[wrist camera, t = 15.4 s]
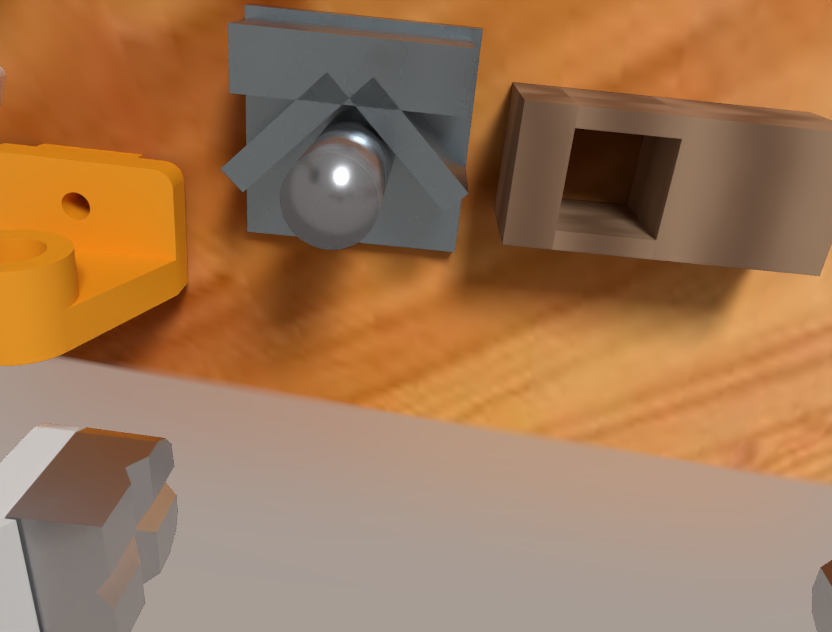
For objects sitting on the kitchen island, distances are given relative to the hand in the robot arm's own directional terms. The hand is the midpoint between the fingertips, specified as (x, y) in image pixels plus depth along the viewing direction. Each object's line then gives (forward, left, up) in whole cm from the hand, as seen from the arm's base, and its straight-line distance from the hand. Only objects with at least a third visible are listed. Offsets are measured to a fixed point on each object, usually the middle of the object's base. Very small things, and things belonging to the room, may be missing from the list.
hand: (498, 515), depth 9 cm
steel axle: (+5, +3, -32) cm, 32 cm away
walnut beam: (-11, +2, -33) cm, 35 cm away
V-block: (+5, +2, -33) cm, 33 cm away
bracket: (+20, +8, -33) cm, 40 cm away
